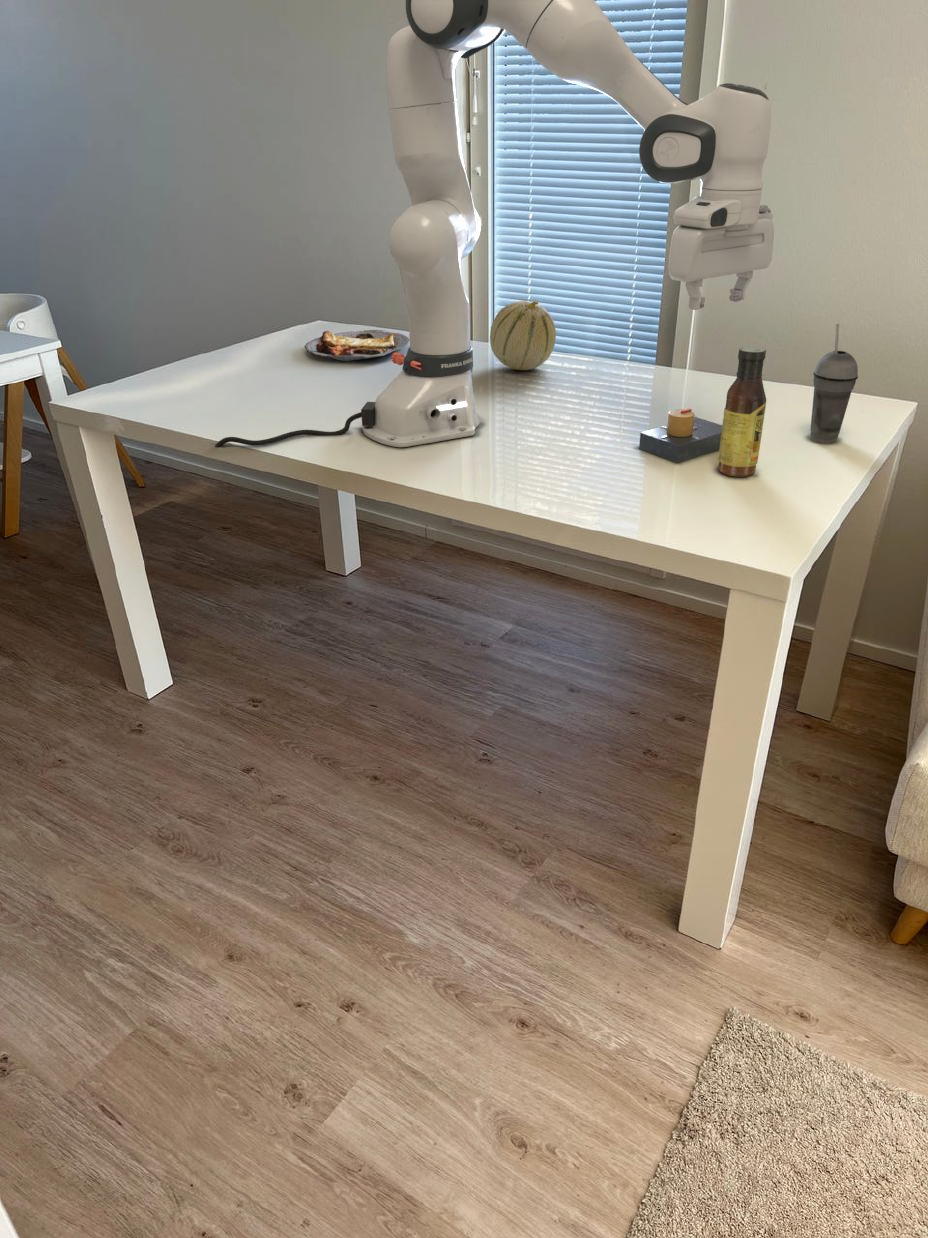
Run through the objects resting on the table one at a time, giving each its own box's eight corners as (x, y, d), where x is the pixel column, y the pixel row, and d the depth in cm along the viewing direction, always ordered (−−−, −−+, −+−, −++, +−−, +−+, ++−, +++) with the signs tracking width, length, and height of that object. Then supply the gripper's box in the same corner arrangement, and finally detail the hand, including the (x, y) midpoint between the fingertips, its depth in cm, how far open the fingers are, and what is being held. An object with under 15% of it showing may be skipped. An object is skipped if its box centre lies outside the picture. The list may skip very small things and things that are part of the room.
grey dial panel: (677, 463, 155) (679, 445, 154) (638, 448, 161) (640, 431, 160) (732, 445, 162) (734, 428, 161) (693, 432, 169) (695, 415, 167)
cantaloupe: (493, 359, 214) (493, 292, 207) (556, 360, 213) (558, 293, 205) (485, 377, 202) (485, 306, 194) (553, 378, 200) (555, 307, 192)
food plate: (292, 362, 215) (291, 347, 213) (322, 338, 234) (321, 324, 233) (397, 366, 211) (396, 350, 209) (418, 341, 231) (417, 327, 229)
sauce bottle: (757, 479, 148) (776, 355, 138) (717, 477, 149) (733, 353, 139) (754, 465, 154) (772, 344, 144) (715, 463, 155) (731, 343, 145)
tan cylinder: (680, 438, 157) (682, 417, 155) (661, 432, 160) (663, 410, 158) (697, 433, 159) (700, 411, 157) (678, 426, 162) (680, 405, 160)
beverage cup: (839, 449, 160) (863, 331, 150) (797, 442, 163) (817, 326, 153) (849, 436, 165) (872, 322, 155) (807, 430, 168) (828, 317, 158)
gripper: (756, 201, 145) (743, 293, 152) (666, 212, 135) (656, 309, 142) (790, 205, 141) (775, 299, 148) (699, 216, 130) (687, 317, 137)
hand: (716, 304), depth 145 cm, fingers open, 8 cm apart
